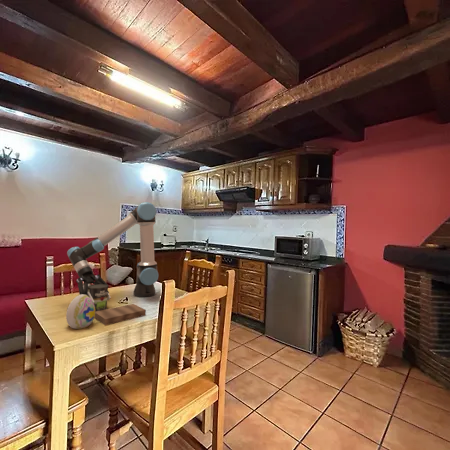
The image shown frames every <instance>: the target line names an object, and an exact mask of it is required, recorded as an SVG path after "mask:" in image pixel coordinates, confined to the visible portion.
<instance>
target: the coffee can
mask: <svg viewBox="0 0 450 450" xmlns="http://www.w3.org/2000/svg"><path fill="white" fill-rule="evenodd" d="M108 285H109V284H108ZM108 285H106V284H91V285H90V286H88V292H89V293H90V294H91V296H92V298H93V300H94V306H95V312H96V311H101V310H106V309H108V300H107V295H108V292H109V287H108Z"/></svg>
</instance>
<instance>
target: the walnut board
mask: <svg viewBox="0 0 450 450" xmlns="http://www.w3.org/2000/svg"><path fill="white" fill-rule="evenodd" d="M146 313H147V312H146V309H145V308H143V307H140V306H138V305H137V304H134V303H131V304H125V305H121V306H117V307H111V308H107V309H106V310H101V311H96V312H95V317H94V320H97V321H98V322H99V323H100V324H102V325H104V326H107V325H110V324H111V325H112V324H115V323H116V324H117V323H119V322H124V321H127V320H132V319H136V318H140V317H145V316H146Z"/></svg>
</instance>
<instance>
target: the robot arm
mask: <svg viewBox="0 0 450 450" xmlns="http://www.w3.org/2000/svg"><path fill="white" fill-rule="evenodd" d="M156 216H157V208H156V206H155V205H154V204H153V203H152V202H148V201H145V202H144V201H143V202H141V203H140V204H138V205H137V206H136V207H135V208H134V209H133V210H132V211H131V212H129V215H127V216H125V218H123V219H121V220H120V221H118V222H117V223H116V224H114V225H113V226H111V227H110V228H109V229H106V230H105V231H104V232H102V233H101V234H100V235H98V236H97V237H95V238H94V239H93V240H91V241H90V240H89V242H88V243H87V244H85V245H83V246H82V247H80V246H73V247H70V248H69V249H68V250H67V252H66V255H67V257H68V259H69V261H70V263H71V264H72V267H73V268H74V270H75V272H76V273H77V276H78V278H77V279H76V280H75V282H76V283H77V288H78V293H79V295H81V294H84V295H87V296H89V297H90V298H91V300H92V301H93V303H94V300H93V298H92V296H91V294H90V293H89V292H88V284H92V285H94V284H106V285H108V288H109V286H110V285H109V284H108V283H107V282H106V280H104V278H102V277H101V275H100V274H97V275H95V274H94V271H93V269H92V267H91V265H90V264H89V262H88V260H87V259H89V258H91V257H93V256H94V255H96V254H98V253H100V252H102V251H103V250H105V246H107V245H108V244H110V243H111V242H112V241H114V240H115V239H117V238H118V237H119V236H121V235H122V234H124V233H125V232H127V231H128V230H130V229H131V228H132V227H134V226H136V225H139V235H140V236H139V239H140V261H139V262H137V265H136V285H135V287H134V289H133V293H132V295H133V296H134V297H137V298H138V297H139V298H147V297H154V296H156V288H155V283H156V282H157V281H158V280H159V275H160V274H159V272H158V263H157V261H155V241H154V240H155V235H154V234H155V233H154V225H155V224H156ZM83 283H84V289H83ZM87 292H88V293H87ZM111 298H112V296H111V295H110V291H108V295H107V301H109V300H110V299H111Z"/></svg>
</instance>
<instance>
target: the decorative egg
mask: <svg viewBox="0 0 450 450" xmlns="http://www.w3.org/2000/svg"><path fill="white" fill-rule="evenodd" d="M66 309H67V310H66V314H65V316H66V317H65V319H66V323H67V325H68V326H69V327H70V328H71V329H74V330H75V329H76V330H79V329H80V330H81V329H85V328H87V327H90V325H92V323H93V321H94V320H95V318H94V317H95V306H94V303H93V301H92V300H91V298H90V297H89V296H87V295H84V294H81V295H80V294H79V295H76V296H75V297H74V298H73V299H72V300H71V302H69V305H68V307H67V308H66Z"/></svg>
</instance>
